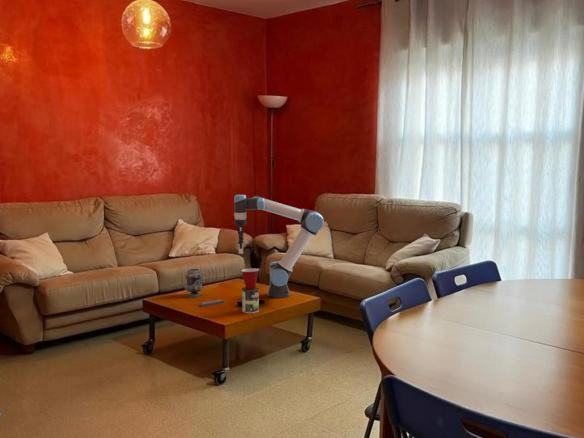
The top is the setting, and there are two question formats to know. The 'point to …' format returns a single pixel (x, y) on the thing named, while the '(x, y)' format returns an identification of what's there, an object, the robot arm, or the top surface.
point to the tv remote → (210, 303)
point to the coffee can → (250, 300)
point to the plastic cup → (250, 278)
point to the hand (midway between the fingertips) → (240, 251)
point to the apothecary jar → (193, 282)
